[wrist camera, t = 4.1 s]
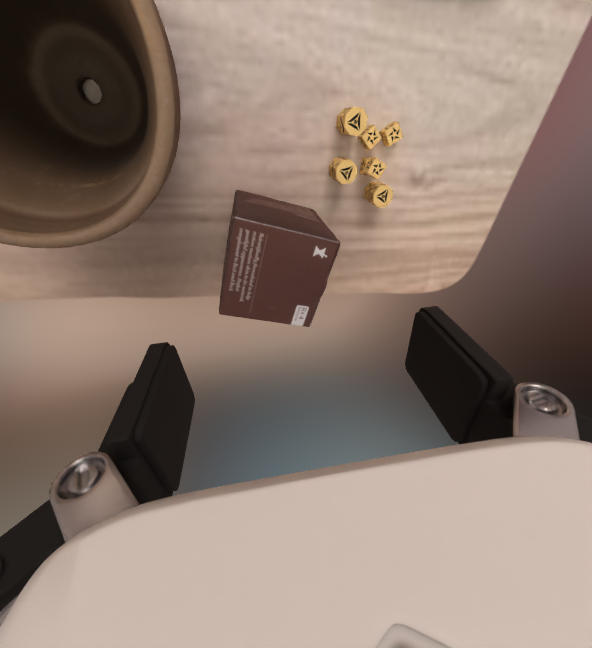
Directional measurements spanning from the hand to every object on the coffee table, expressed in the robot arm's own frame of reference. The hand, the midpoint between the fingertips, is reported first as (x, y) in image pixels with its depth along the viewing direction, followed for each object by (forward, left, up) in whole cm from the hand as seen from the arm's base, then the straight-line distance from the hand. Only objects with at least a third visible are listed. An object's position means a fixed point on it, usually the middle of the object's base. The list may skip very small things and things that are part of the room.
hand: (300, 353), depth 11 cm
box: (0, 0, -14) cm, 14 cm away
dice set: (+7, +5, -14) cm, 16 cm away
